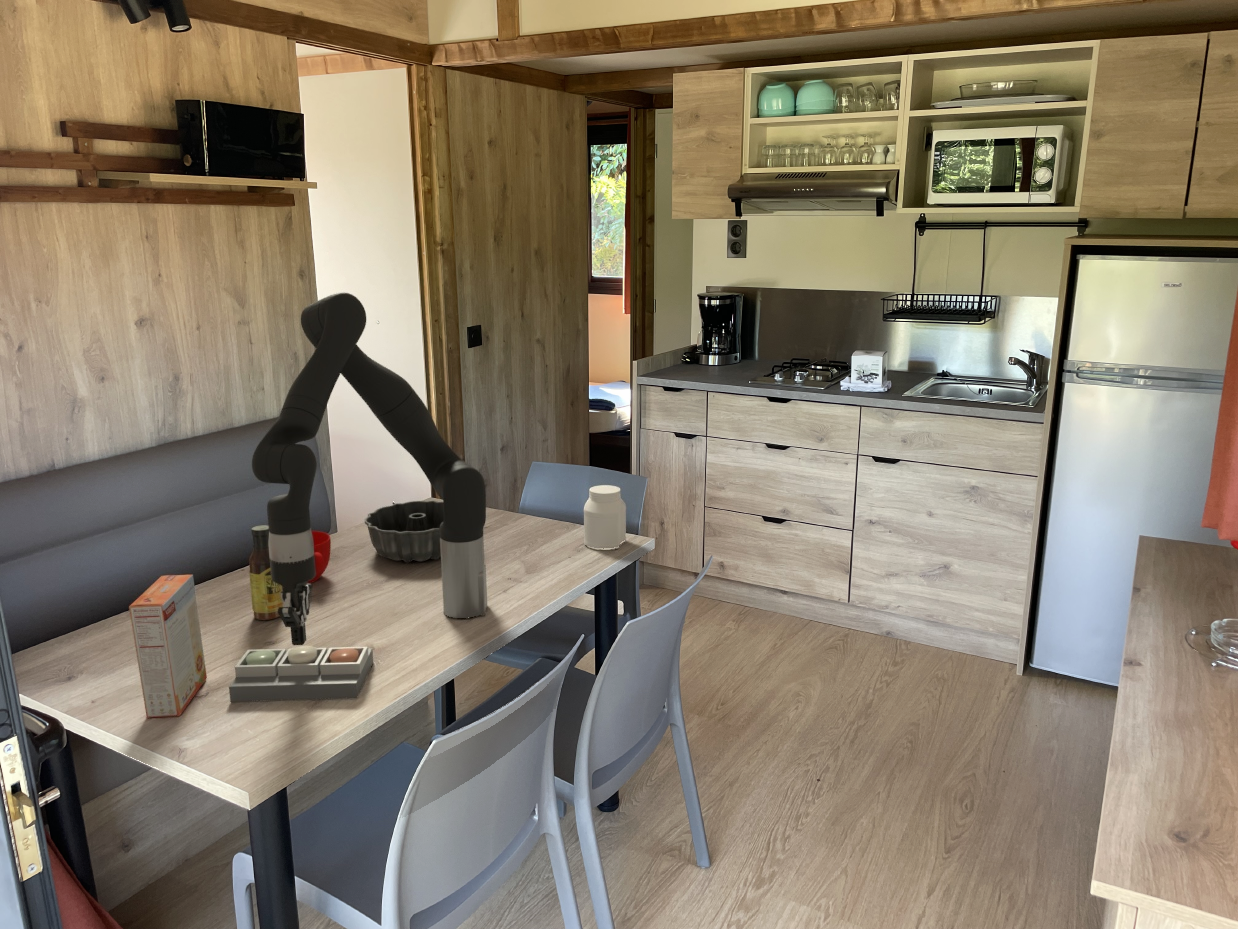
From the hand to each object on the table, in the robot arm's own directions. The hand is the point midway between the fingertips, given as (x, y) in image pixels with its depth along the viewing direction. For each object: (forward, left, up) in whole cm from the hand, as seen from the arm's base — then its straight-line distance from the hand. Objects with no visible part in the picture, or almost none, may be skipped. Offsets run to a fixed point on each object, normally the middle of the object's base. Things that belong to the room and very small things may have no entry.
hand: (299, 643), depth 167 cm
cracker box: (+21, +5, -8) cm, 23 cm away
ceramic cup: (+13, -51, -8) cm, 53 cm away
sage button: (+7, 0, -4) cm, 8 cm away
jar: (-59, -74, -8) cm, 95 cm away
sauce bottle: (+16, -31, -8) cm, 35 cm away
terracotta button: (-8, 0, -4) cm, 9 cm away
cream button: (0, 0, -3) cm, 3 cm away
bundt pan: (-10, -71, -8) cm, 72 cm away
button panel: (0, 0, -8) cm, 8 cm away
